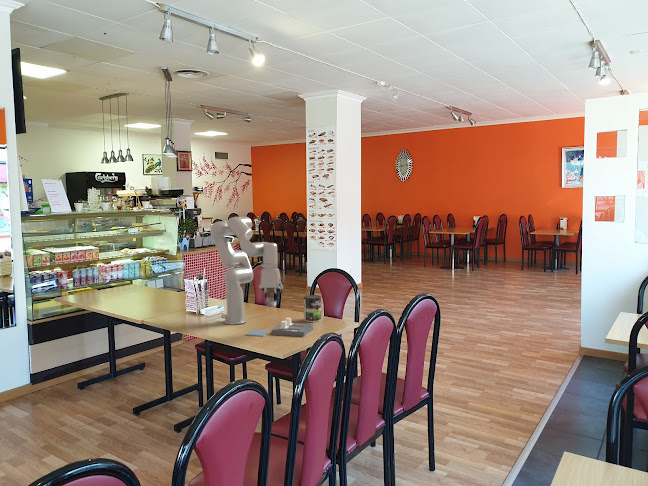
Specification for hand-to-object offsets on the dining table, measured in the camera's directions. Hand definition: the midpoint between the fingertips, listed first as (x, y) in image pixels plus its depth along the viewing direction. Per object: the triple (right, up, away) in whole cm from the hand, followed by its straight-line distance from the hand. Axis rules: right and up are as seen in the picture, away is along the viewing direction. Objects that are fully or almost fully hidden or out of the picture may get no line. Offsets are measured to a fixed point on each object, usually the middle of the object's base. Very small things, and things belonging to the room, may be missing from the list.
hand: (271, 299), depth 272 cm
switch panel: (+11, -17, +3) cm, 21 cm away
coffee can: (+21, -15, +28) cm, 38 cm away
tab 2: (+9, -14, +6) cm, 18 cm away
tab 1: (+7, -15, 0) cm, 16 cm away
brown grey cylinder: (0, -3, 0) cm, 3 cm away
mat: (-7, -18, 0) cm, 19 cm away
